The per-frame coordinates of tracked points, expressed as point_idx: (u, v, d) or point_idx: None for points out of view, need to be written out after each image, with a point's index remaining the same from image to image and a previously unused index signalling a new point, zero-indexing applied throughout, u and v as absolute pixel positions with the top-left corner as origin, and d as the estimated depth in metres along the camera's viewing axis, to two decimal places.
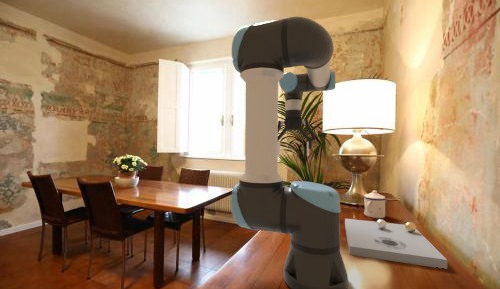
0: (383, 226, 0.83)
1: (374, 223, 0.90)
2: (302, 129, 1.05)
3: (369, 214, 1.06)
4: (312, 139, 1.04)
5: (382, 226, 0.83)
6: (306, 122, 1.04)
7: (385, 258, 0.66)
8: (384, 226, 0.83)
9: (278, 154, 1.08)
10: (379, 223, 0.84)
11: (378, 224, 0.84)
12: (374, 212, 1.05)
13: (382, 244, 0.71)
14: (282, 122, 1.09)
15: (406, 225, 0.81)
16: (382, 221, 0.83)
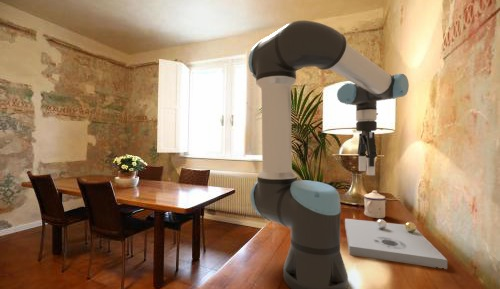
0: (383, 226, 0.83)
1: (374, 223, 0.90)
2: None
3: (369, 214, 1.06)
4: None
5: (382, 226, 0.83)
6: (367, 135, 0.89)
7: (385, 258, 0.66)
8: (384, 226, 0.83)
9: (359, 169, 1.01)
10: (379, 223, 0.84)
11: (378, 224, 0.84)
12: (374, 212, 1.05)
13: (382, 244, 0.71)
14: (362, 135, 1.00)
15: (406, 225, 0.81)
16: (382, 221, 0.83)
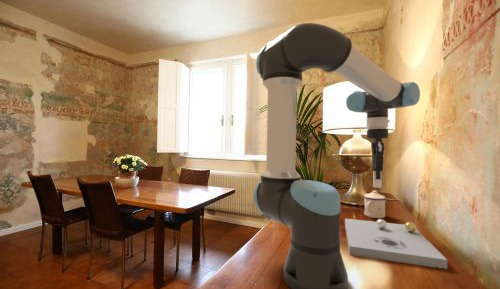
0: (383, 226, 0.83)
1: (374, 223, 0.90)
2: None
3: (369, 214, 1.06)
4: None
5: (382, 226, 0.83)
6: (376, 148, 0.88)
7: (385, 258, 0.66)
8: (384, 226, 0.83)
9: (373, 185, 0.94)
10: (379, 223, 0.84)
11: (378, 224, 0.84)
12: (374, 212, 1.05)
13: (382, 244, 0.71)
14: None
15: (406, 225, 0.81)
16: (382, 221, 0.83)
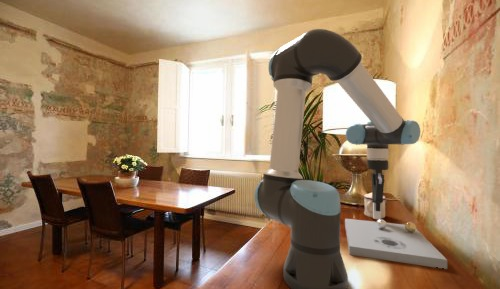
0: (383, 226, 0.83)
1: (374, 223, 0.90)
2: None
3: (369, 214, 1.06)
4: None
5: (382, 226, 0.83)
6: (376, 181, 0.87)
7: (385, 258, 0.66)
8: (384, 226, 0.83)
9: (373, 216, 0.93)
10: (379, 223, 0.84)
11: (378, 224, 0.84)
12: None
13: (382, 244, 0.71)
14: None
15: (406, 225, 0.81)
16: (382, 221, 0.83)
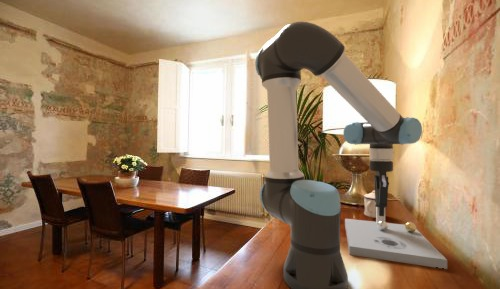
0: None
1: (374, 223, 0.90)
2: None
3: (369, 214, 1.06)
4: None
5: None
6: (380, 184, 0.80)
7: (385, 258, 0.66)
8: None
9: (376, 222, 0.86)
10: (380, 227, 0.82)
11: (379, 228, 0.83)
12: (374, 212, 1.05)
13: (382, 244, 0.71)
14: None
15: (406, 225, 0.81)
16: (384, 226, 0.81)
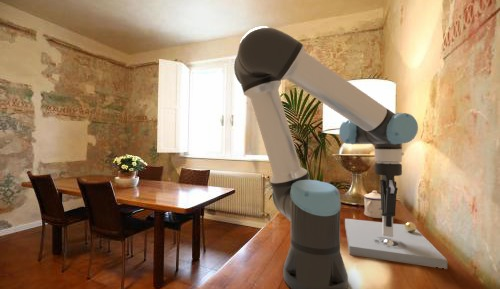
0: None
1: (374, 223, 0.90)
2: None
3: (369, 214, 1.06)
4: None
5: None
6: (387, 189, 0.70)
7: (385, 258, 0.66)
8: None
9: (382, 233, 0.75)
10: None
11: None
12: (374, 212, 1.05)
13: (382, 244, 0.71)
14: None
15: (406, 225, 0.81)
16: (389, 244, 0.71)
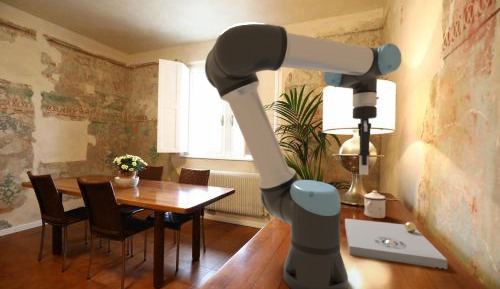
0: None
1: (374, 223, 0.90)
2: None
3: (369, 214, 1.06)
4: None
5: None
6: (361, 128, 0.76)
7: (385, 258, 0.66)
8: None
9: None
10: None
11: None
12: (374, 212, 1.05)
13: (382, 244, 0.71)
14: None
15: (406, 225, 0.81)
16: None
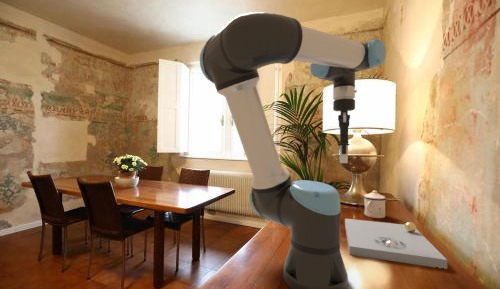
0: None
1: (374, 223, 0.90)
2: None
3: (369, 214, 1.06)
4: None
5: None
6: (341, 119, 0.81)
7: (385, 258, 0.66)
8: None
9: (340, 161, 0.87)
10: None
11: None
12: (374, 212, 1.05)
13: (382, 244, 0.71)
14: None
15: (406, 225, 0.81)
16: None
